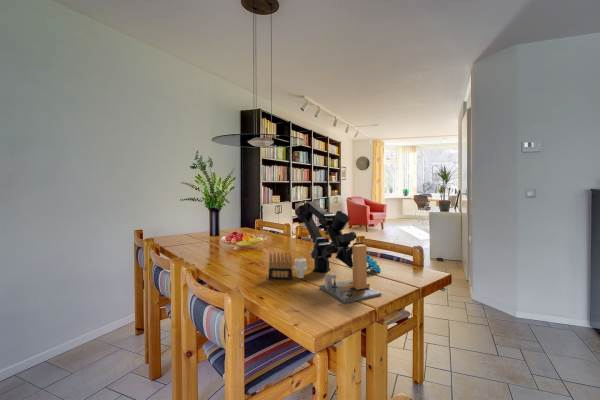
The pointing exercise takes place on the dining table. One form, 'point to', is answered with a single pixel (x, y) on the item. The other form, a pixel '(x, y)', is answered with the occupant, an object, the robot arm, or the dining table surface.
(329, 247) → the robot arm
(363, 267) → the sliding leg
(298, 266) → the pipe fitting
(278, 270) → the ammunition clip
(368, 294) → the plate
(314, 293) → the dining table surface
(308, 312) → the dining table surface
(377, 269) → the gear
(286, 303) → the dining table surface
